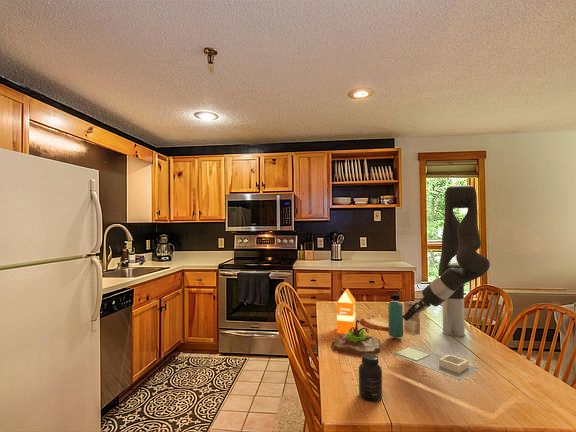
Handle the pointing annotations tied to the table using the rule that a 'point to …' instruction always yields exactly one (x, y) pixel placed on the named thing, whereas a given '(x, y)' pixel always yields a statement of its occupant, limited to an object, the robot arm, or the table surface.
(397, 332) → the beverage bottle
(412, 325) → the wooden block tower
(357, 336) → the plant
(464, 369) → the board
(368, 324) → the slice of bread
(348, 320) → the orange juice
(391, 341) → the table surface
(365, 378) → the supplement bottle
